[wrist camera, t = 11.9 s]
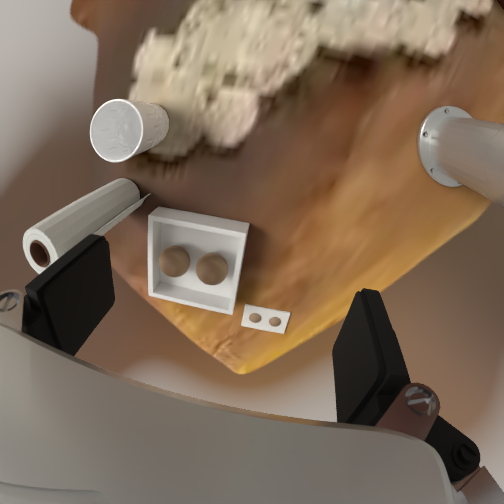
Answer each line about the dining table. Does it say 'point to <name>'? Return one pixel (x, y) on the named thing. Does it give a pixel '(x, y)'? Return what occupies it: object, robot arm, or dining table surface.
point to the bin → (195, 257)
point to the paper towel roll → (80, 222)
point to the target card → (265, 318)
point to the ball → (212, 269)
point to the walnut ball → (174, 261)
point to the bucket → (501, 3)
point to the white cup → (127, 128)
